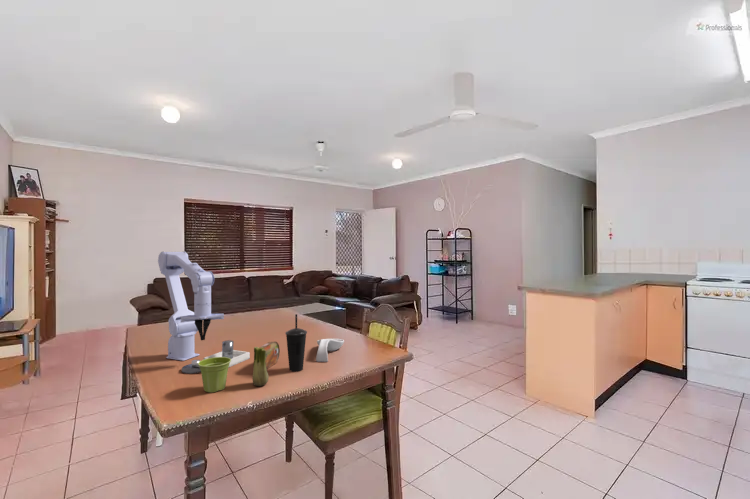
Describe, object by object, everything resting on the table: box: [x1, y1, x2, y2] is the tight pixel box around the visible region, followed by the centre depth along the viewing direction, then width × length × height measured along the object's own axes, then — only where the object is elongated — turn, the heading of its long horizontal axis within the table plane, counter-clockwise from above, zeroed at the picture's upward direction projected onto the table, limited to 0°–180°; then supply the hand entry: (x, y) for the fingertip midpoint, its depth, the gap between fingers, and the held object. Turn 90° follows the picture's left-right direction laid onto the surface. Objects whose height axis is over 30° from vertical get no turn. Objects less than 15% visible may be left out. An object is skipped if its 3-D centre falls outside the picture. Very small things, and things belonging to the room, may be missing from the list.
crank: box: [191, 357, 213, 367], centre depth 126 cm, size 10×3×4 cm, turn 70°
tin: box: [258, 341, 281, 370], centre depth 131 cm, size 15×3×8 cm, turn 168°
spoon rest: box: [315, 338, 345, 363], centre depth 147 cm, size 24×12×7 cm, turn 177°
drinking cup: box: [284, 314, 308, 373], centre depth 127 cm, size 8×8×20 cm
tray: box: [202, 349, 251, 369], centre depth 136 cm, size 11×12×2 cm
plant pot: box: [198, 357, 231, 393], centre depth 110 cm, size 9×9×9 cm
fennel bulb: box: [252, 346, 269, 387], centre depth 113 cm, size 6×5×12 cm
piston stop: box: [221, 339, 234, 359], centre depth 136 cm, size 4×4×7 cm
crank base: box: [181, 363, 201, 375], centre depth 127 cm, size 9×9×1 cm
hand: (202, 339), depth 132 cm, fingers closed
